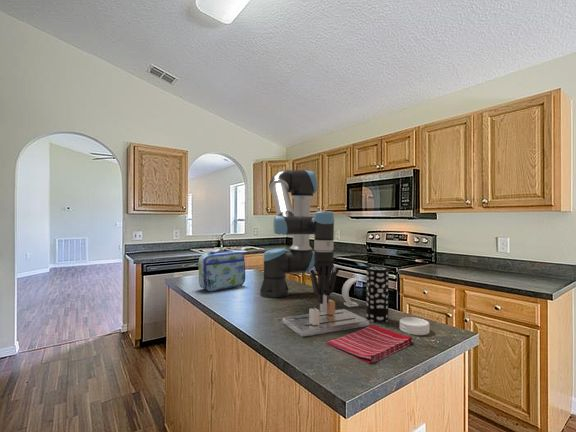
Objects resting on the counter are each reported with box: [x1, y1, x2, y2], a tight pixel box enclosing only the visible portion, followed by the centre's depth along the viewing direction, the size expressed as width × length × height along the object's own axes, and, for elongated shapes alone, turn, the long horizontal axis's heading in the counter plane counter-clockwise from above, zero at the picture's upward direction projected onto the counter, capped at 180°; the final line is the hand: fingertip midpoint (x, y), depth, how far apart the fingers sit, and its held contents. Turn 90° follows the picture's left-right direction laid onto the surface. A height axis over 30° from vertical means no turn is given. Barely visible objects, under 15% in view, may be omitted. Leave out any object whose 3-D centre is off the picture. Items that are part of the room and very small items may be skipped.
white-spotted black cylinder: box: [365, 266, 390, 324], centre depth 125 cm, size 8×8×20 cm
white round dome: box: [399, 316, 431, 336], centre depth 113 cm, size 10×10×4 cm
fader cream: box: [308, 307, 320, 325], centre depth 112 cm, size 3×2×5 cm
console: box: [282, 308, 370, 338], centre depth 119 cm, size 16×28×2 cm, turn 114°
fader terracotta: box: [326, 299, 336, 315], centre depth 124 cm, size 3×2×5 cm
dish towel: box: [325, 324, 413, 365], centre depth 100 cm, size 17×24×3 cm
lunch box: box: [197, 250, 246, 293], centre depth 178 cm, size 26×11×21 cm, turn 130°
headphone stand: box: [341, 277, 359, 308], centre depth 145 cm, size 5×6×12 cm
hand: (323, 311), depth 123 cm, fingers closed
